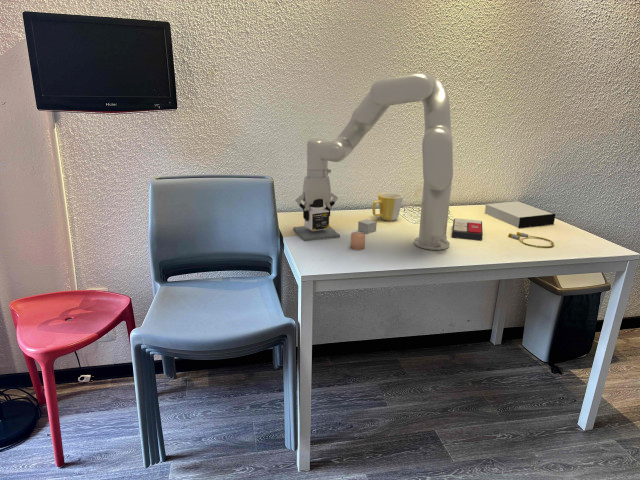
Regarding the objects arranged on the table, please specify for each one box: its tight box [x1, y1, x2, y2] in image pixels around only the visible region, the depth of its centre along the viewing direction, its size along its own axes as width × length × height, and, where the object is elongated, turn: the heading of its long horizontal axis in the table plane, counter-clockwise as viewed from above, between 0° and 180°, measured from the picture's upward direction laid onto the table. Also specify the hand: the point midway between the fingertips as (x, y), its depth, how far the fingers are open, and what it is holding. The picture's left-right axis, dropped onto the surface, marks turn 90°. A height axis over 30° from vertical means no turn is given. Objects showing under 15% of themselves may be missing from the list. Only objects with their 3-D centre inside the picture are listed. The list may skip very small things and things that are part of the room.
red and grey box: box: [451, 218, 484, 242], centre depth 191 cm, size 11×4×15 cm
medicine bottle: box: [303, 199, 330, 231], centre depth 186 cm, size 7×7×12 cm
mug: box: [372, 191, 404, 222], centre depth 206 cm, size 14×10×10 cm
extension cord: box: [507, 231, 555, 249], centre depth 184 cm, size 12×16×2 cm
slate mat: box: [292, 225, 341, 242], centre depth 188 cm, size 14×14×1 cm
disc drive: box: [484, 200, 556, 229], centre depth 211 cm, size 18×22×5 cm
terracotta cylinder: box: [350, 231, 366, 251], centre depth 174 cm, size 5×5×5 cm
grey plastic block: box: [357, 218, 378, 235], centre depth 192 cm, size 5×5×4 cm
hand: (316, 219), depth 187 cm, fingers closed on medicine bottle, 7 cm apart
